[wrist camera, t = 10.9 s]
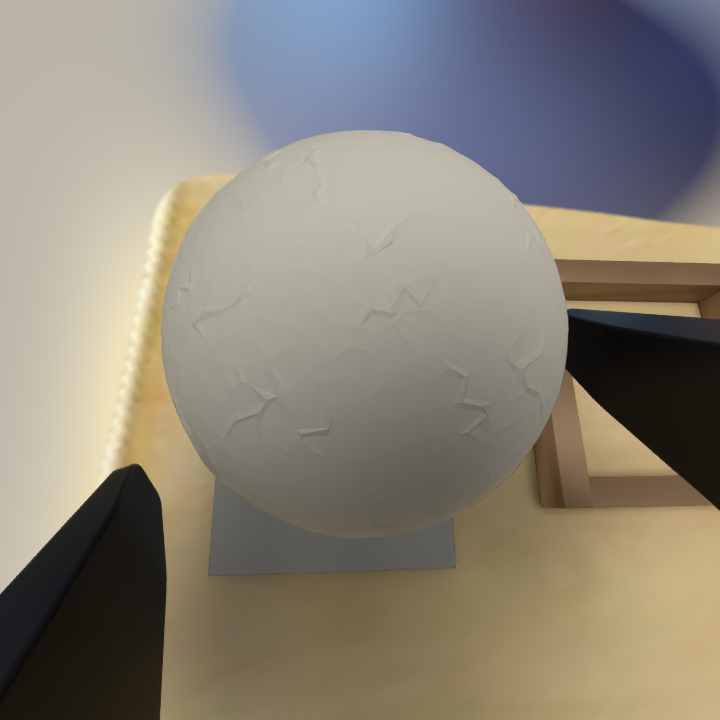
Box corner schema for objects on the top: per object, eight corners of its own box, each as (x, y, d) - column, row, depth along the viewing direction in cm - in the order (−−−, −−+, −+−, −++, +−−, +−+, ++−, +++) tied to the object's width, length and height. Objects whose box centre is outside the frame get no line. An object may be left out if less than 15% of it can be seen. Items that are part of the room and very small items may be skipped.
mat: (452, 565, 19) (456, 567, 18) (211, 573, 18) (207, 576, 17) (433, 306, 22) (436, 301, 21) (232, 303, 21) (229, 297, 21)
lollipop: (449, 432, 20) (800, 273, 5) (330, 548, 18) (376, 780, 3) (345, 320, 21) (402, -61, 6) (223, 418, 19) (-76, 189, 5)
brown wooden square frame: (774, 501, 20) (820, 502, 19) (541, 506, 20) (565, 508, 18) (713, 282, 24) (747, 264, 22) (511, 278, 23) (528, 258, 21)
